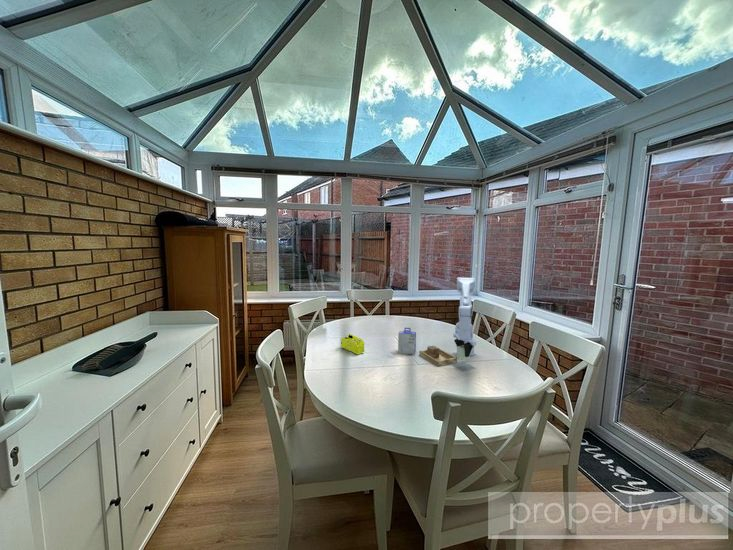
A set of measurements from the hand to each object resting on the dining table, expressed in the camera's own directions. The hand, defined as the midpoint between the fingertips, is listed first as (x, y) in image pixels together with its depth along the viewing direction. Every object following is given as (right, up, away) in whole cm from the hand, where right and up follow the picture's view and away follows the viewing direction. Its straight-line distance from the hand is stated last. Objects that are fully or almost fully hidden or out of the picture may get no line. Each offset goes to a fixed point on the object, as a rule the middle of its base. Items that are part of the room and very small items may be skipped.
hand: (463, 354), depth 153 cm
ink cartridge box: (-26, -5, +21) cm, 34 cm away
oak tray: (-11, -6, +11) cm, 16 cm away
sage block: (0, -1, 0) cm, 1 cm away
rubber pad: (0, -7, +1) cm, 7 cm away
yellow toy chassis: (-58, -4, +24) cm, 63 cm away
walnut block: (-12, -5, +14) cm, 20 cm away
